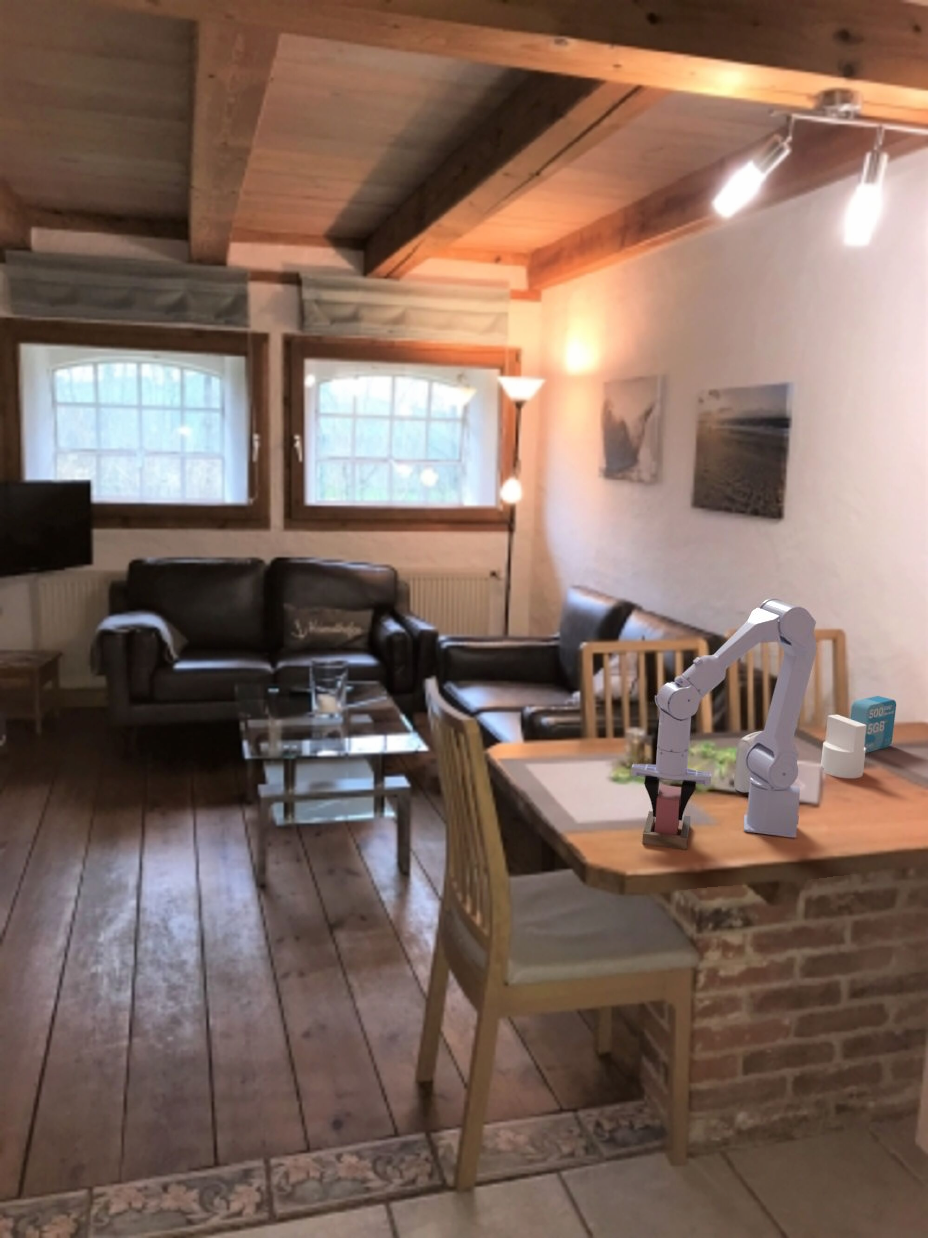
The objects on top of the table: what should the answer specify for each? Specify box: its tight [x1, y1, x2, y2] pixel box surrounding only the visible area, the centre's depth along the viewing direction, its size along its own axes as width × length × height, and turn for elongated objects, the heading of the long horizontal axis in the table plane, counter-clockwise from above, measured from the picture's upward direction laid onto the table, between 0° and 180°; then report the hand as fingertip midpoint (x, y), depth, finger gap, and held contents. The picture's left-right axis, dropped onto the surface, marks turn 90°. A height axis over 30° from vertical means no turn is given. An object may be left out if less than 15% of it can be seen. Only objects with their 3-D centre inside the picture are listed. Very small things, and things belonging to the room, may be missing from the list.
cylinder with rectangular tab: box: [820, 714, 867, 779], centre depth 226 cm, size 9×9×12 cm
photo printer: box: [733, 730, 764, 794], centre depth 214 cm, size 10×4×12 cm, turn 123°
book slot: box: [641, 810, 691, 851], centre depth 189 cm, size 8×11×2 cm
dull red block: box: [654, 784, 681, 836], centre depth 189 cm, size 4×8×7 cm, turn 164°
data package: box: [849, 695, 897, 754], centre depth 244 cm, size 12×4×12 cm, turn 125°
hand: (667, 816), depth 189 cm, fingers closed on dull red block, 4 cm apart
